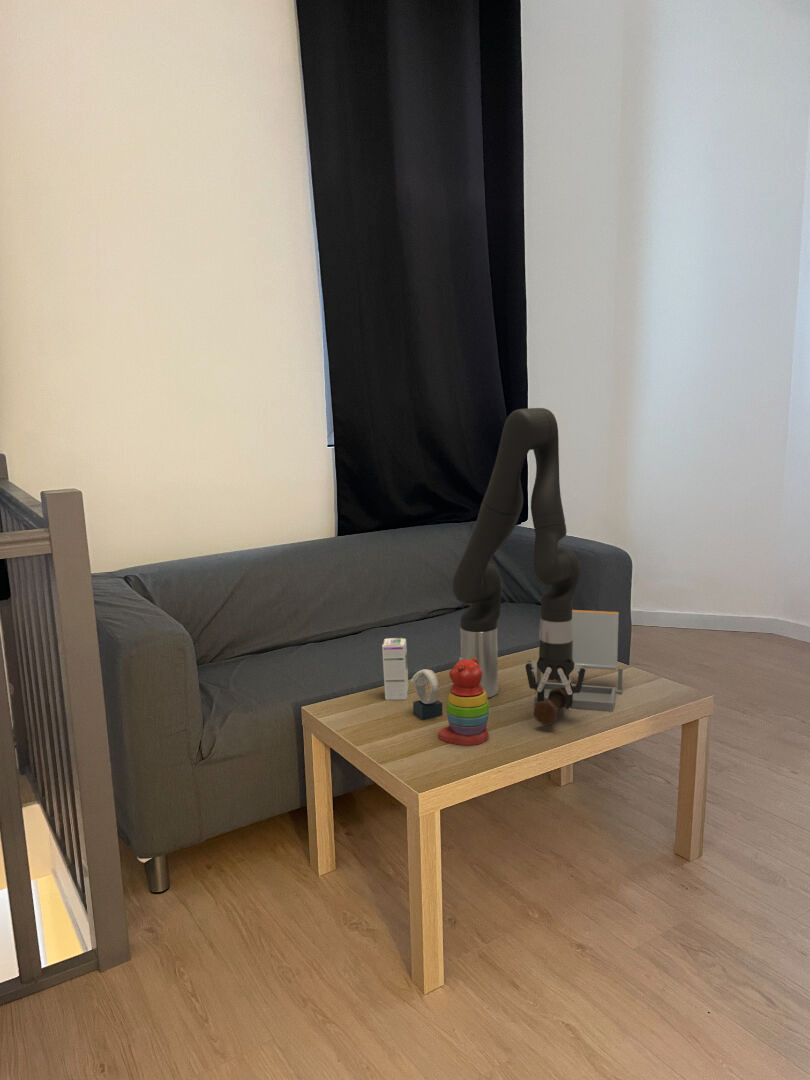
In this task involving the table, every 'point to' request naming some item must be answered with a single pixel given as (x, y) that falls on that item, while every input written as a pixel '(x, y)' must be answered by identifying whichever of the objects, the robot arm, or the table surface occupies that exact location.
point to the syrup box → (395, 669)
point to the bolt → (550, 706)
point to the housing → (587, 694)
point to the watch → (426, 705)
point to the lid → (595, 639)
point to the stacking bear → (466, 706)
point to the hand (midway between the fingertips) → (555, 706)
